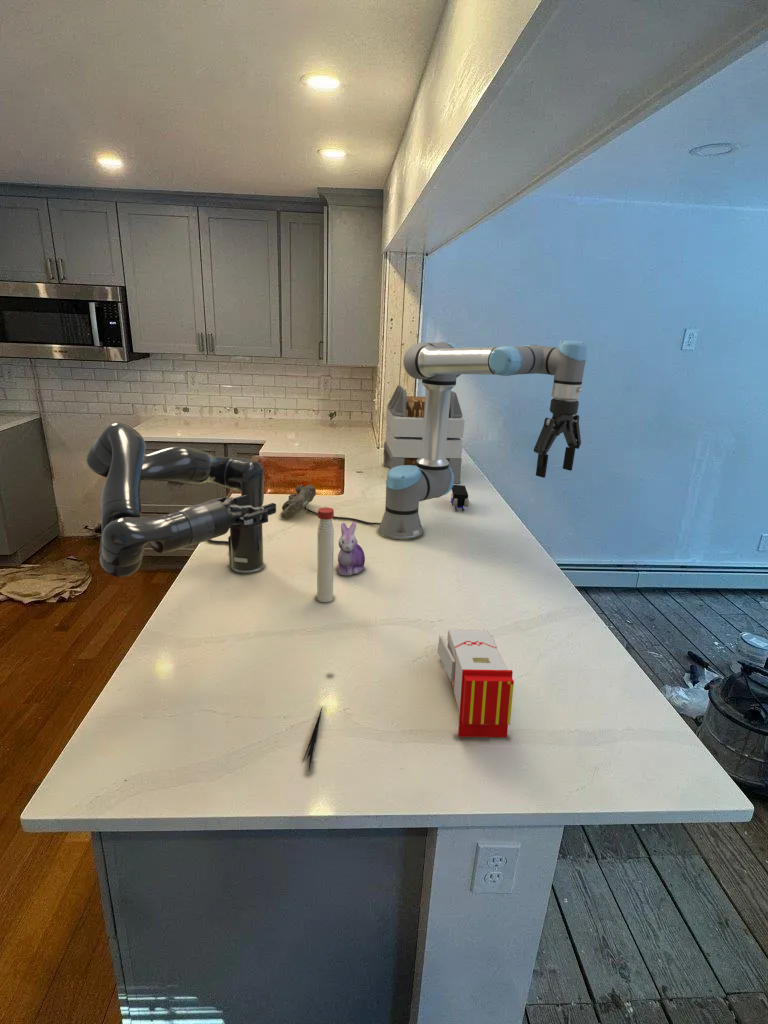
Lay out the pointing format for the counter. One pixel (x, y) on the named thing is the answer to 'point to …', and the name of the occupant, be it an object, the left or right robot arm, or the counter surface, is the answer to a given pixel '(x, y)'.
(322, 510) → the cap
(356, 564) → the figurine
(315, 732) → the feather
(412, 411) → the white slatted crate
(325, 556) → the bottle
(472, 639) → the toy
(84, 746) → the counter surface
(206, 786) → the counter surface
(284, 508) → the fossil
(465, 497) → the figurine character
